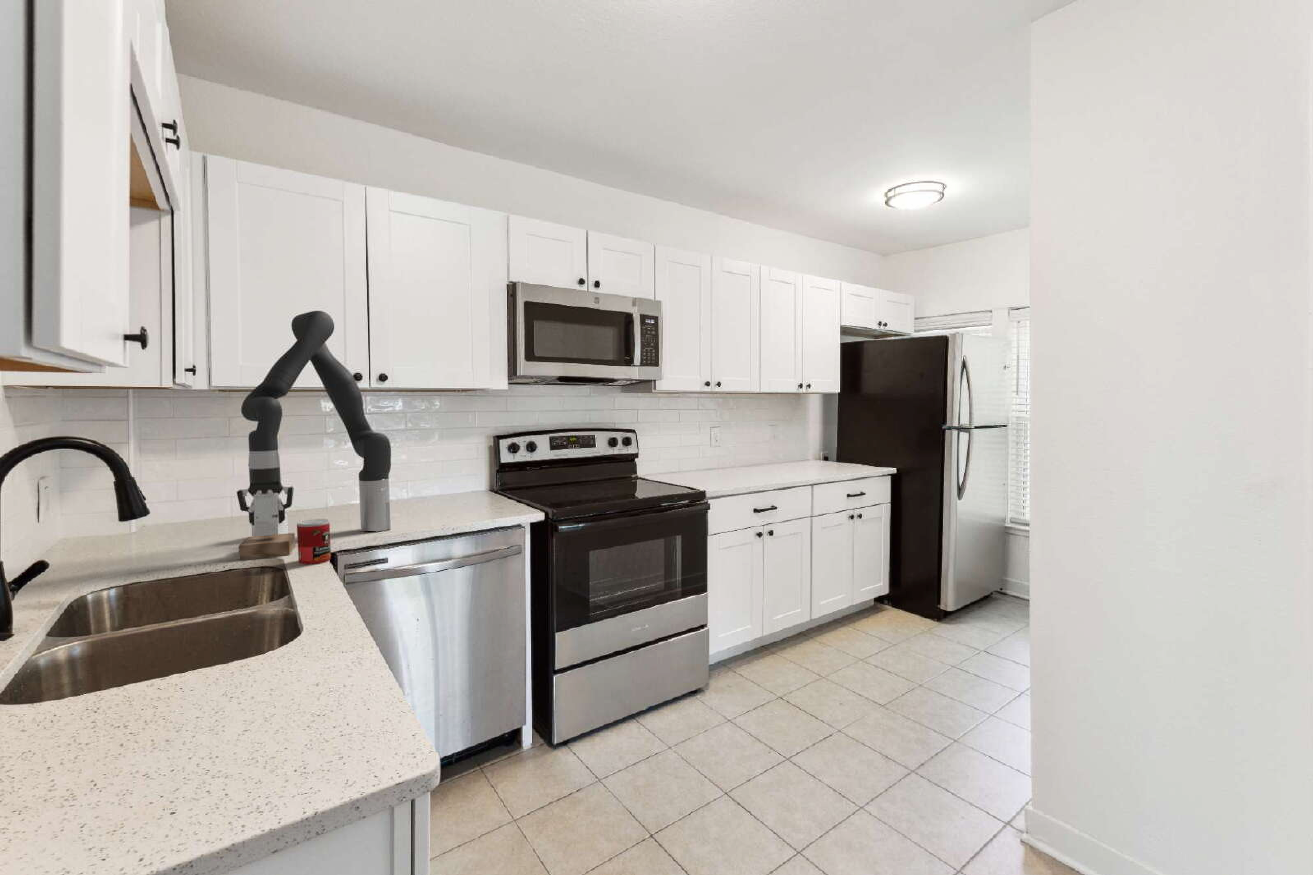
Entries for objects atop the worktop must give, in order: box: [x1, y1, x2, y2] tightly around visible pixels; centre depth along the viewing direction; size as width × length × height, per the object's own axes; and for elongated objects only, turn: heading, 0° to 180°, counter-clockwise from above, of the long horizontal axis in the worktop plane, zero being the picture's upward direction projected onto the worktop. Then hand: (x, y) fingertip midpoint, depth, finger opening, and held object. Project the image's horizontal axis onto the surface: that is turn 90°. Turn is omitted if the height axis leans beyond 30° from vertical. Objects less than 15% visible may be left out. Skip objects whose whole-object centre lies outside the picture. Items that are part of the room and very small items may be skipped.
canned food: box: [296, 518, 332, 566], centre depth 164 cm, size 8×8×11 cm
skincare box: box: [253, 493, 281, 536], centre depth 174 cm, size 6×4×12 cm
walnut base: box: [238, 532, 296, 561], centre depth 174 cm, size 12×12×4 cm
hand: (267, 523), depth 174 cm, fingers closed on skincare box, 6 cm apart
